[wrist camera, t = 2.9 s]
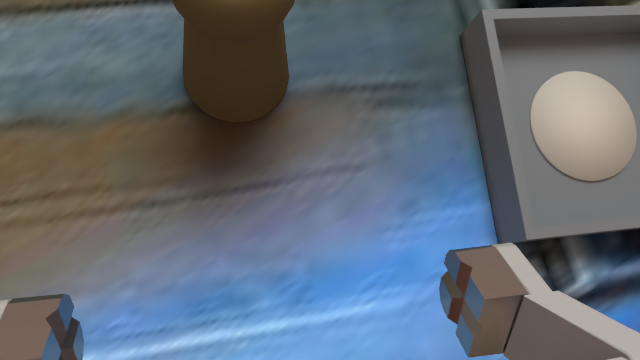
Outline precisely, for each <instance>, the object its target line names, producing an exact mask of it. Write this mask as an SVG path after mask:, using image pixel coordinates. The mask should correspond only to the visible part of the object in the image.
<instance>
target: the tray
mask: <svg viewBox="0 0 640 360" xmlns="http://www.w3.org/2000/svg"><path fill="white" fill-rule="evenodd" d="M460 39H461V44H462V50H463V55H464V60H465V66H466V71H467V77H468V82H469V88H470V93H471V99H472V104H473V109H474V115H475V120H476V126H477V131H478V137H479V142H480V147H481V153H482V158H483V164H484V169H485V175H486V180H487V186H488V191H489V196H490V202H491V207H492V213H493V218H494V224H495V229H496V234H497V240H498V244H503V243H519V242H528V241H537V240H546V239H554V238H563V237H572V236H581V235H590V234H599V233H608V232H617V231H626V230H635V229H640V5H637V6H600V7H562V8H525V9H487V10H481V11H480V12H479V14H478V15H477V16H476V17H475V18H474V19H473V21H472V22H471V23H470V24H469V25H468V26H467V28H466V29H465V30H464V31H463V32H462V33H461V35H460ZM569 71H581V72H587V73H591V74H593V75H596V76H598V77H600V78H602V79H604V80H606V81H607V82H609V83H610V84H611V85H612V86H614V87H615V88H616V89H617V90H618V91H619V92H620V93H621V95H622V96H623V97H624V99H625V100H626V102H627V103H628V105H629V107H630V109H631V111H632V113H633V116H634V119H635V124H636V131H637V140H636V146H635V150H634V153H633V155H632V157H631V159H630V161H629V162H628V164H627V165H626V166H625V167H624V168H623V169H622V170H621V171H620V172H619V173H617V174H615V175H614V176H612V177H609V178H607V179H603V180H599V181H582V180H578V179H574V178H572V177H569V176H567V175H565V174H563V173H561V172H560V171H558V170H557V169H556V168H554V167H553V166H552V165H551V164H550V163H549V162H548V161H547V160H546V159H545V158H544V156H543V155H542V154H541V152H540V151H539V149H538V147H537V146H536V144H535V141H534V139H533V136H532V133H531V128H530V118H529V116H530V107H531V103H532V100H533V98H534V96H535V94H536V92H537V90H538V89H539V88H540V87H541V86H542V85H543V84H544V83H545V82H546V81H547V80H549V79H550V78H552V77H553V76H555V75H558V74H560V73H564V72H569Z"/></svg>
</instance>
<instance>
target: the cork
mask: <svg viewBox="0 0 640 360" xmlns="http://www.w3.org/2000/svg"><path fill="white" fill-rule="evenodd" d="M172 1H173V3H174V5H175V7H176V9H177V11H178V12H179V13H180V14H181V15H182V17H183V18H184V43H183V77H184V85H185V87H186V89H187V92H188V94H189V96H190V98H191V100H192V101H193V102H194V103H195V104H196V105H197V106H198V107H199V108H200V109H201V110H202V111H203V112H205V113H207V114H209V115H210V116H212V117H214V118H216V119H219V120H223V121H228V122H232V123H237V122H249V121H253V120H255V119H258V118H260V117H263V116H265V115H267V114H268V113H269V112H270V111H271V110H273V109H274V108H275V107H276V106H277V105H278V104H279V102H280V101H281V99H282V97H283V96H284V94H285V92H286V89H287V84H288V79H289V73H288V63H287V53H286V43H285V33H284V24H283V20H284V19H285V17H286V15H287V14H288V12H289V11H290V9H291V8H292V6H293V4H294V0H172Z"/></svg>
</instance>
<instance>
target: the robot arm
mask: <svg viewBox="0 0 640 360" xmlns="http://www.w3.org/2000/svg"><path fill="white" fill-rule="evenodd" d="M444 264H445V266H446V268H447V269H448V271H447V272H446V273H445V274H444V275H443V276H442V277H441V281H440V287H439V291H440V301H441V304H442V307H443V310H444V312H445V314H446V316H447V318H448V319H450V320H451V321H453V322H454V323H456V324H457V329H456V333H455V334H456V335H457V337H458V339H459V341H460V343H461V345H462V347H463V349H464V351H465V353H466V355H467V356H468V357H476V356H485V355H493V354H501V353H504V356H506V357H507V358H508V359H509V360H640V333H638V332H636V331H634V330H632V329H630V328H628V327H626V326H624V325H623V324H621V323H619V322H617V321H615V320H613V319H611V318H609V317H607V316H605V315H603V314H602V313H600V312H598V311H596V310H594V309H592V308H590V307H588V306H586V305H584V304H583V303H581V302H579V301H577V300H575V299H573V298H571V297H569V296H567V295H565V294H564V293H562V292H560V291H553V292H552V290H551V289H550V288H549V287H548V285H547V284H546V283H545V281H544V280H543V279H542V278H541V276H540V275H539V274H538V273H537V271H536V270H535V269H534V268H533V266H532V265H531V264H530V263H529V261H528V260H527V259H526V258H525V256H524V255H523V254H522V253H521V251H520V250H519V249H518V247H517V246H516V245H514V244H513V243H503V244H495V245H490V246H480V247H472V248H464V249H456V250H449V251H448V253H447V254H446V257H445V262H444ZM73 309H74V305H73V303H72V300H71V298H70V295H67V294H58V295H47V296H36V297H25V298H14V299H10V300H0V360H82V359H83V349H84V339H83V332H82V328H81V325H80V322H79V321H77V320H75V319H74V318H72V317H71V316H72V312H73Z"/></svg>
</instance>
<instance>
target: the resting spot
mask: <svg viewBox="0 0 640 360" xmlns="http://www.w3.org/2000/svg"><path fill="white" fill-rule="evenodd" d="M529 118H530V128H531V133H532V136H533V139H534V141H535V144H536V146H537V147H538V149H539V151H540V152H541V154H542V155H543V156H544V158H545V159H546V160H547V161H548V162H549V163H550V164H551V165H552V166H553V167H554V168H556V169H557V170H558V171H560V172H561V173H563V174H565V175H567V176H569V177H572V178H574V179H578V180H582V181H599V180H603V179H607V178H609V177H612V176H614V175H615V174H617V173H619V172H620V171H621V170H622V169H623V168H624V167H625V166H626V165H627V164H628V162H629V161H630V159H631V157H632V155H633V153H634V150H635V146H636V140H637V131H636V124H635V119H634V116H633V113H632V111H631V109H630V107H629V105H628V103H627V102H626V100H625V99H624V97H623V96H622V95H621V93H620V92H619V91H618V90H617V89H616V88H615V87H614V86H612V85H611V84H610V83H609V82H607V81H606V80H604V79H602V78H600V77H598V76H596V75H593V74H591V73H587V72H581V71H569V72H564V73H560V74H558V75H555V76H553V77H552V78H550V79H549V80H547V81H546V82H545V83H544V84H543V85H542V86H541V87H540V88H539V89H538V90H537V92H536V94H535V96H534V98H533V100H532V103H531V107H530V116H529Z"/></svg>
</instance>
